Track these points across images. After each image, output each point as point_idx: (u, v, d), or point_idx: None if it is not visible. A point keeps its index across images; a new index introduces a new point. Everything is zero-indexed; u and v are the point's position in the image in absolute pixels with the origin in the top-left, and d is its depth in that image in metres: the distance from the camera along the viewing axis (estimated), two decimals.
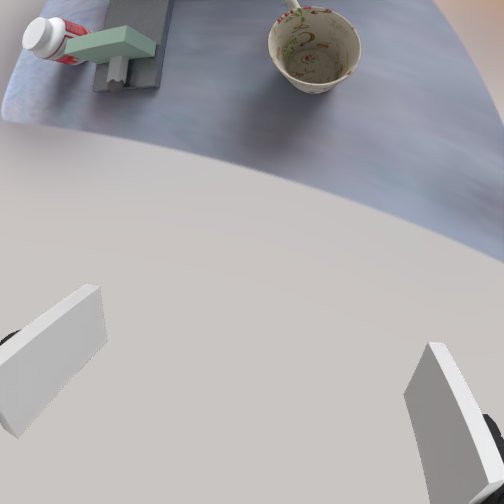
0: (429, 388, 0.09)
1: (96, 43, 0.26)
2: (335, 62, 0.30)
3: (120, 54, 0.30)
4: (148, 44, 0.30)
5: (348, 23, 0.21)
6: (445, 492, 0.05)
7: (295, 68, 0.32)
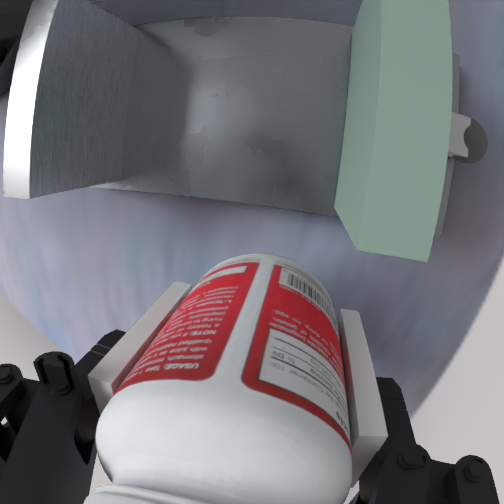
0: None
1: (439, 65, 0.06)
2: None
3: None
4: None
5: None
6: None
7: None
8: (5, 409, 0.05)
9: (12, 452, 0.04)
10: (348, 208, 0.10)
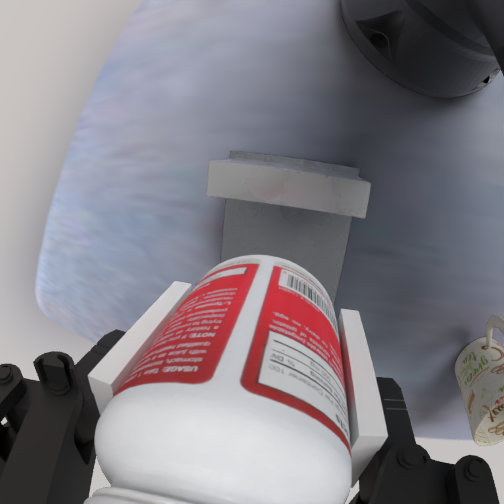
0: None
1: None
2: None
3: None
4: None
5: None
6: None
7: None
8: (5, 409, 0.05)
9: (12, 452, 0.04)
10: None
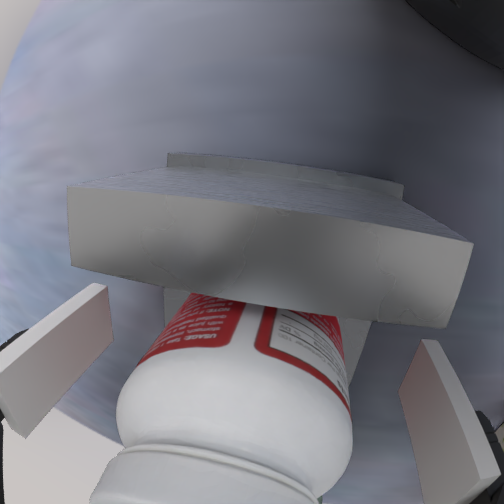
0: (422, 384, 0.09)
1: None
2: None
3: None
4: None
5: None
6: (437, 488, 0.06)
7: None
8: None
9: None
10: None
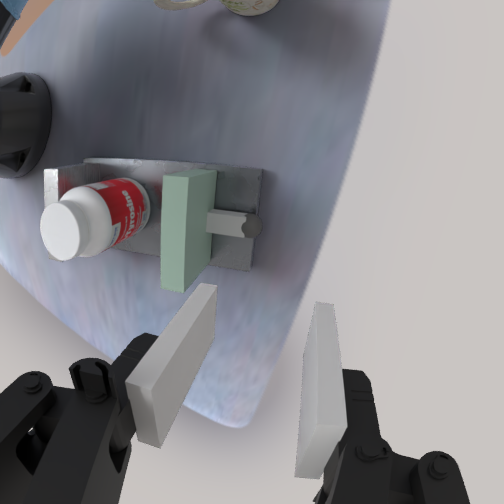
0: (311, 343, 0.11)
1: (180, 229, 0.23)
2: None
3: (205, 212, 0.27)
4: (198, 170, 0.27)
5: None
6: (302, 437, 0.08)
7: None
8: (32, 419, 0.06)
9: (42, 461, 0.04)
10: None
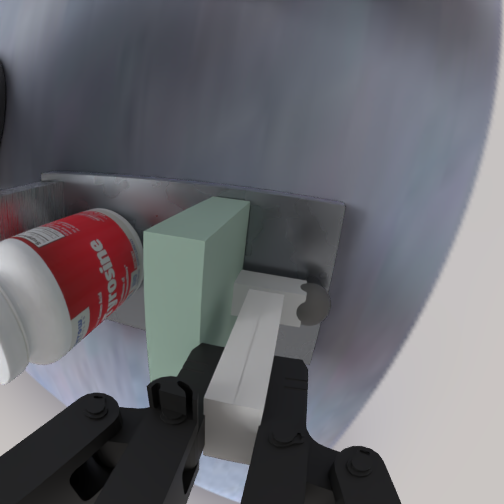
0: None
1: (188, 347, 0.10)
2: None
3: (231, 285, 0.14)
4: (217, 204, 0.14)
5: None
6: None
7: None
8: (93, 446, 0.05)
9: (108, 484, 0.04)
10: None
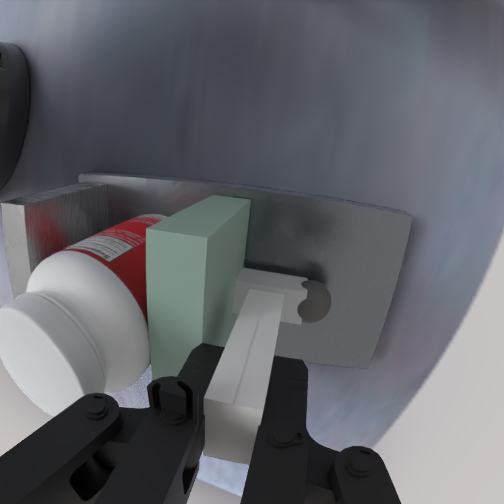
0: None
1: (191, 344, 0.10)
2: None
3: (232, 282, 0.15)
4: (218, 202, 0.14)
5: None
6: None
7: None
8: (93, 446, 0.05)
9: (108, 484, 0.04)
10: None
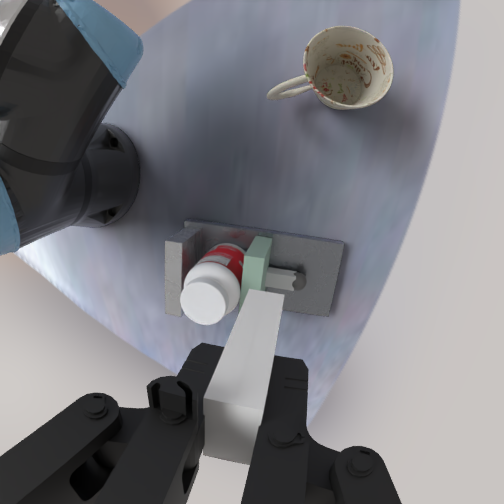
0: None
1: None
2: (330, 63, 0.31)
3: (266, 273, 0.36)
4: (260, 241, 0.36)
5: (320, 33, 0.23)
6: None
7: (338, 101, 0.33)
8: (92, 446, 0.05)
9: (107, 484, 0.04)
10: None
